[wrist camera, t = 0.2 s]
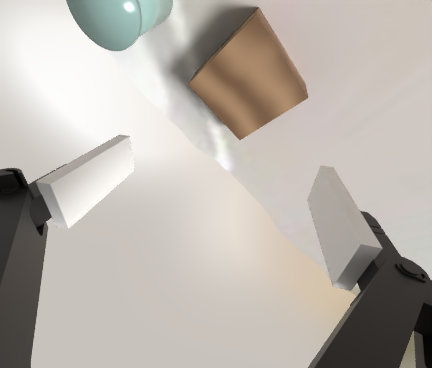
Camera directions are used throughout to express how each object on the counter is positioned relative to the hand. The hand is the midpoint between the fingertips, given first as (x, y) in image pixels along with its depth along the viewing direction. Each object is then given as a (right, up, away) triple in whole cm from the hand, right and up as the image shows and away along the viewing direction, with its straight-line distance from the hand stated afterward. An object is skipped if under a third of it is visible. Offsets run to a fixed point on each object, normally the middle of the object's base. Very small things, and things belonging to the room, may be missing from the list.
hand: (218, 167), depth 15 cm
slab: (+5, +17, +21) cm, 27 cm away
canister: (-10, +26, +15) cm, 31 cm away
